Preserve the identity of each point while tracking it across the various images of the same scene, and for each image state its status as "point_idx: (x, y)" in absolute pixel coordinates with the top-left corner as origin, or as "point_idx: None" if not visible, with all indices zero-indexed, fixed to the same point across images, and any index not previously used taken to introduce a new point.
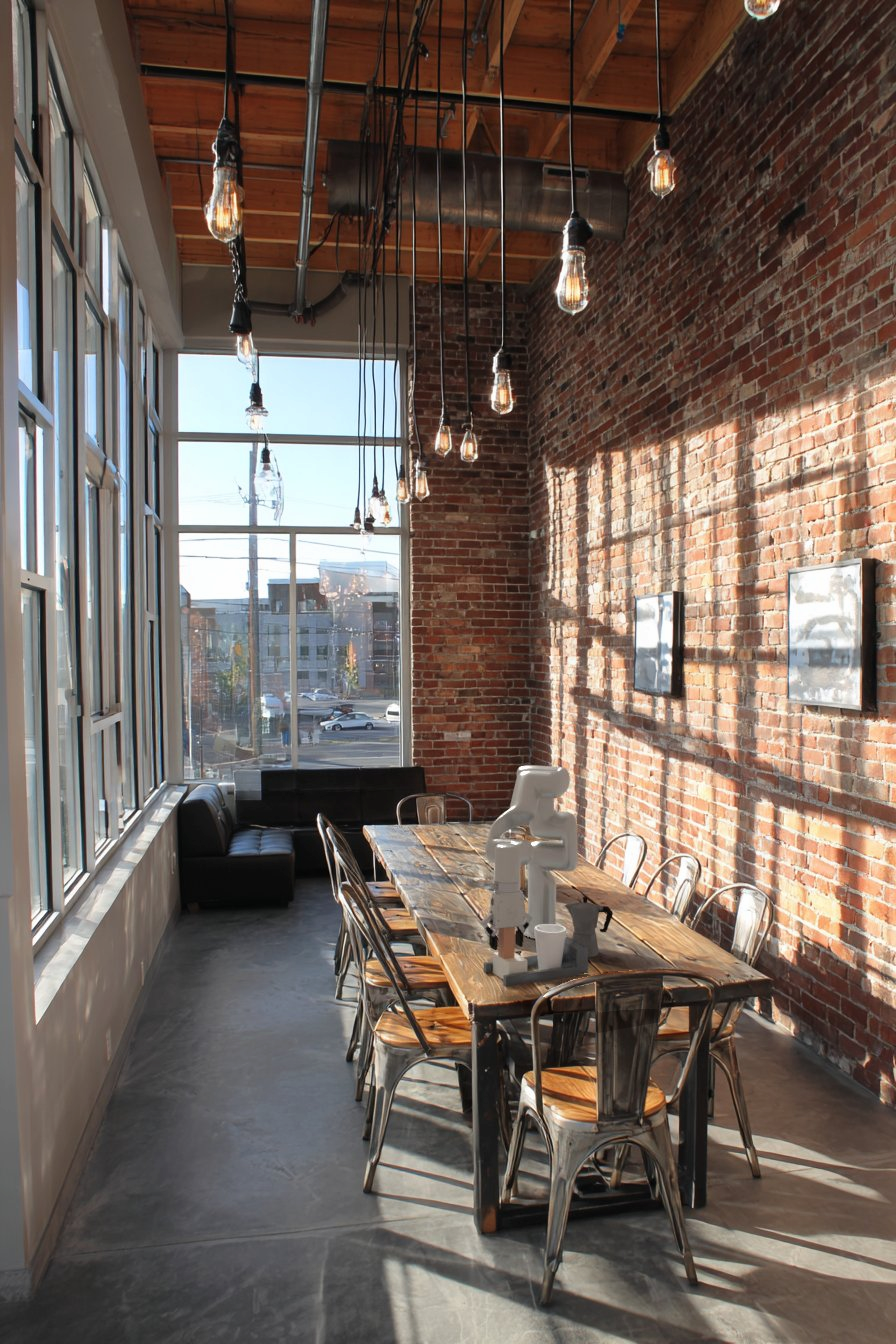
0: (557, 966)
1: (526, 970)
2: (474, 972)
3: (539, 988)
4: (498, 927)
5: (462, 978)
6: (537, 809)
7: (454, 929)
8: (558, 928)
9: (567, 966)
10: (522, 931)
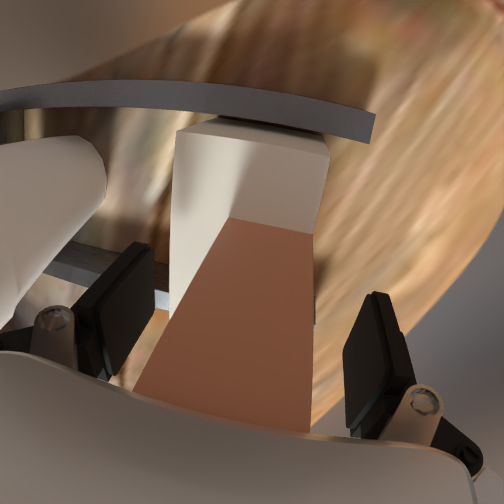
0: (42, 138)
1: (205, 123)
2: (337, 329)
3: (226, 13)
4: (443, 453)
5: (422, 304)
6: None
7: None
8: None
9: (19, 106)
10: (65, 322)
